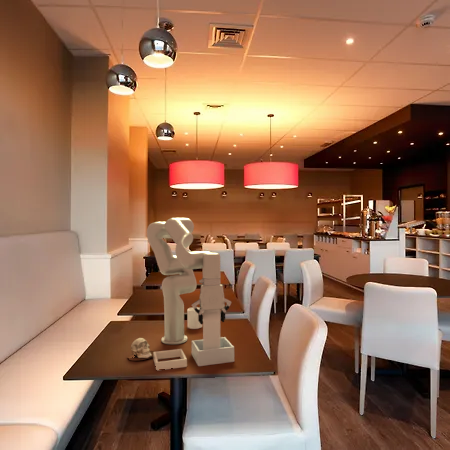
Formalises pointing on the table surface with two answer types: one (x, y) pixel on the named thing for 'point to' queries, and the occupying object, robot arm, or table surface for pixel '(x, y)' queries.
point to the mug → (193, 318)
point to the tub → (213, 353)
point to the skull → (141, 350)
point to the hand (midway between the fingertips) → (211, 322)
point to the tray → (171, 363)
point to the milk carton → (211, 329)
